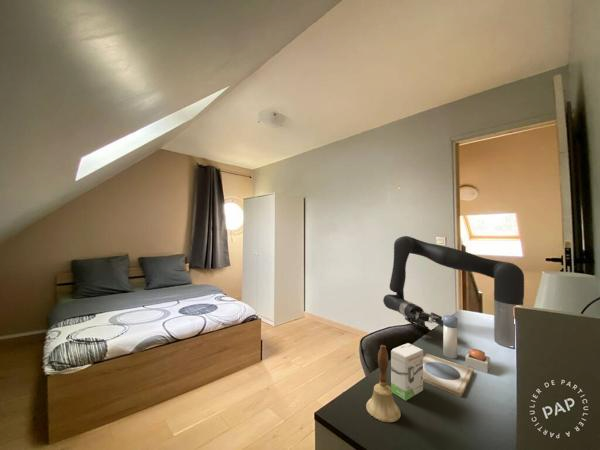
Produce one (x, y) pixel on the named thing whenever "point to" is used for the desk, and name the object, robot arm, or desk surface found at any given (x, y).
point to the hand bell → (383, 394)
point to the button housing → (477, 363)
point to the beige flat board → (446, 374)
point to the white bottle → (450, 336)
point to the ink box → (406, 371)
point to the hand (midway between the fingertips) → (434, 324)
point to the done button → (477, 354)
